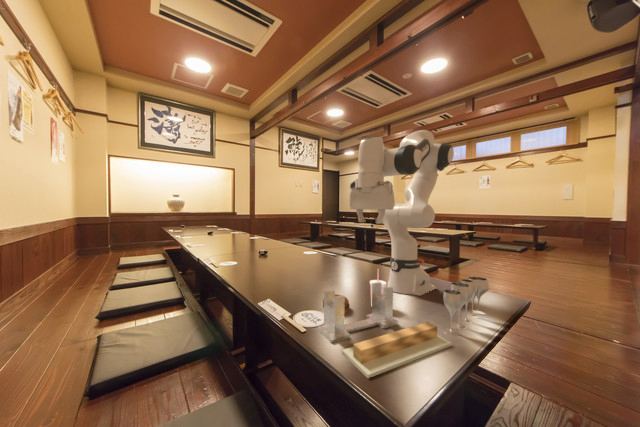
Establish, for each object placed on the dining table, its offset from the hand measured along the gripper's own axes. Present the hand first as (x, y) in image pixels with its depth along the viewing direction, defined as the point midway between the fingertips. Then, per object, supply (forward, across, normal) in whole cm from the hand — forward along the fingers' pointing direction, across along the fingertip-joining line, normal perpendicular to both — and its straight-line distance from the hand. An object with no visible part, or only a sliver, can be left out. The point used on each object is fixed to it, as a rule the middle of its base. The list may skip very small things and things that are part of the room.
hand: (369, 222), depth 84 cm
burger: (+32, +6, +9) cm, 33 cm away
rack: (+31, -8, +10) cm, 34 cm away
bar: (+30, -22, +8) cm, 38 cm away
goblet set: (+32, -20, -24) cm, 44 cm away
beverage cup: (+31, +2, -6) cm, 32 cm away
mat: (+31, -22, +8) cm, 39 cm away
